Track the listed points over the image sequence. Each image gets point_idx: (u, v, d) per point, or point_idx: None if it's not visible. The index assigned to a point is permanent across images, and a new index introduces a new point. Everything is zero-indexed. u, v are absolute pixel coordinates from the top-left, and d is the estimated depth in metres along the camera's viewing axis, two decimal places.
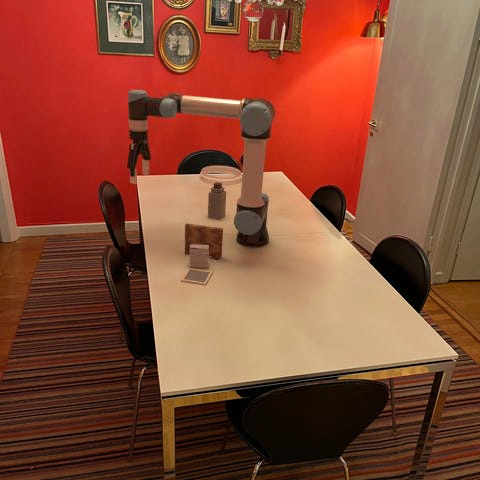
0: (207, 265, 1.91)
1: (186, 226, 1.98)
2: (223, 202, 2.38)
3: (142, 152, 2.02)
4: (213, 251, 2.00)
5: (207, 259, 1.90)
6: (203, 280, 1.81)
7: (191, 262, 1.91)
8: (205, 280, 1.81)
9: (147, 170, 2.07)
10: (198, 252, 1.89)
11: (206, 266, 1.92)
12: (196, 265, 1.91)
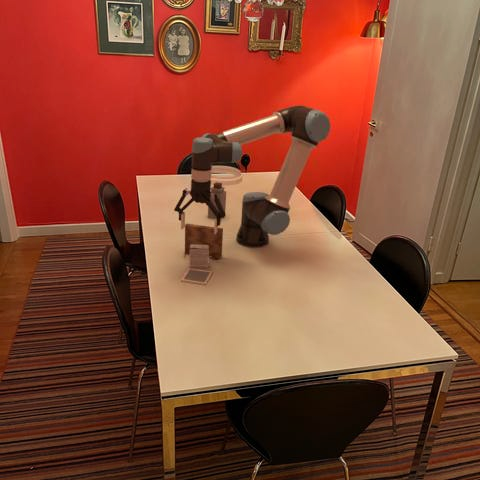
0: (207, 265, 1.91)
1: (186, 226, 1.98)
2: (223, 202, 2.38)
3: None
4: (213, 251, 2.00)
5: (207, 259, 1.90)
6: (203, 280, 1.81)
7: (191, 262, 1.91)
8: (205, 280, 1.81)
9: None
10: (198, 252, 1.89)
11: (206, 266, 1.92)
12: (196, 265, 1.91)
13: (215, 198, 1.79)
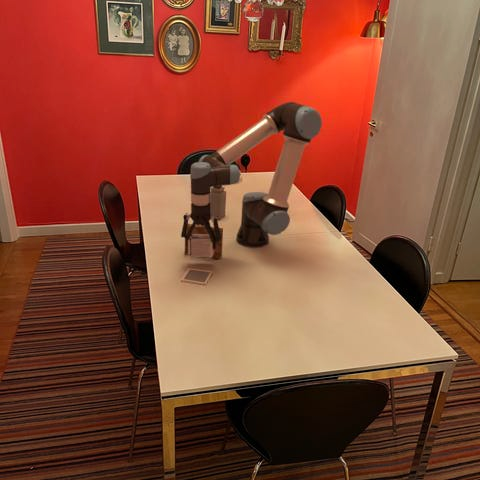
0: (209, 254, 1.90)
1: None
2: (223, 202, 2.38)
3: None
4: None
5: (209, 248, 1.89)
6: (203, 280, 1.81)
7: (193, 252, 1.89)
8: (205, 280, 1.81)
9: None
10: (200, 242, 1.87)
11: (208, 255, 1.90)
12: (198, 255, 1.90)
13: (214, 222, 1.83)
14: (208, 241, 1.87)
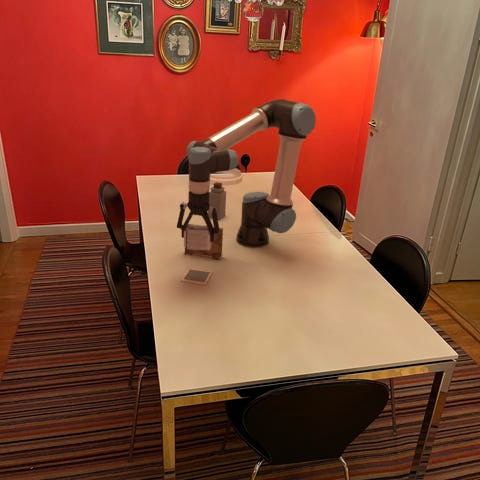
0: (206, 247, 1.77)
1: None
2: (223, 202, 2.38)
3: None
4: (213, 251, 2.00)
5: (206, 241, 1.76)
6: (203, 280, 1.81)
7: (189, 244, 1.76)
8: (205, 280, 1.81)
9: (208, 244, 1.76)
10: (196, 233, 1.74)
11: (205, 248, 1.77)
12: (194, 247, 1.77)
13: (213, 212, 1.70)
14: (206, 233, 1.74)
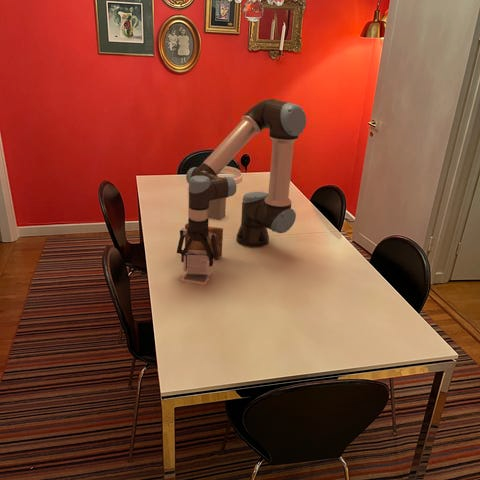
0: (205, 272, 1.81)
1: (186, 226, 1.98)
2: (223, 202, 2.38)
3: None
4: None
5: (205, 266, 1.80)
6: (203, 280, 1.81)
7: (188, 269, 1.80)
8: (205, 280, 1.81)
9: (207, 269, 1.81)
10: (196, 258, 1.79)
11: (204, 273, 1.81)
12: (194, 272, 1.81)
13: (212, 238, 1.75)
14: (205, 258, 1.79)
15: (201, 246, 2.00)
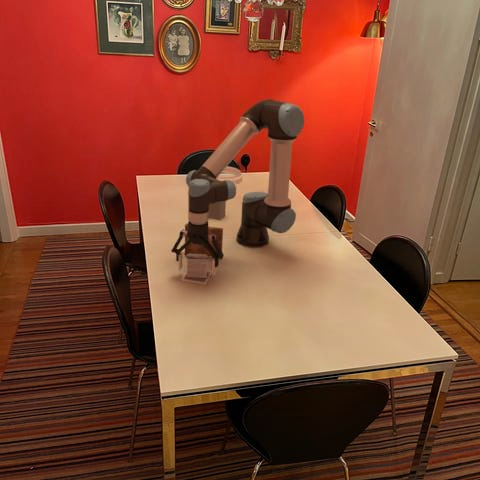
0: (205, 275, 1.82)
1: (186, 226, 1.98)
2: (223, 202, 2.38)
3: None
4: None
5: (205, 269, 1.81)
6: (203, 280, 1.81)
7: (188, 272, 1.81)
8: (205, 280, 1.81)
9: None
10: (196, 262, 1.79)
11: (204, 276, 1.82)
12: (194, 275, 1.82)
13: (213, 240, 1.75)
14: (205, 262, 1.79)
15: (201, 246, 2.00)
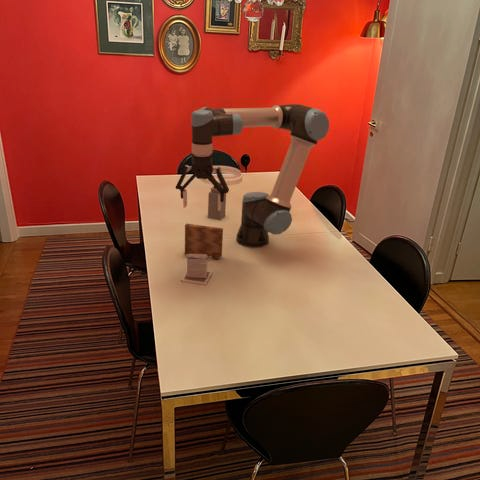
0: (205, 275, 1.82)
1: (186, 226, 1.98)
2: (223, 202, 2.38)
3: None
4: (213, 251, 2.00)
5: (205, 269, 1.81)
6: (203, 280, 1.81)
7: (188, 272, 1.81)
8: (205, 280, 1.81)
9: (218, 205, 1.78)
10: (196, 262, 1.79)
11: (204, 276, 1.82)
12: (194, 275, 1.82)
13: (218, 173, 1.73)
14: (205, 262, 1.79)
15: (201, 246, 2.00)
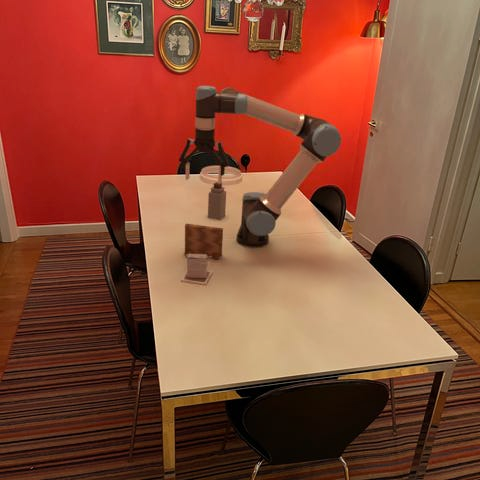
0: (205, 275, 1.82)
1: (186, 226, 1.98)
2: (223, 202, 2.38)
3: None
4: (213, 251, 2.00)
5: (205, 269, 1.81)
6: (203, 280, 1.81)
7: (188, 272, 1.81)
8: (205, 280, 1.81)
9: None
10: (196, 262, 1.79)
11: (204, 276, 1.82)
12: (194, 275, 1.82)
13: (219, 147, 1.82)
14: (205, 262, 1.79)
15: (201, 246, 2.00)
